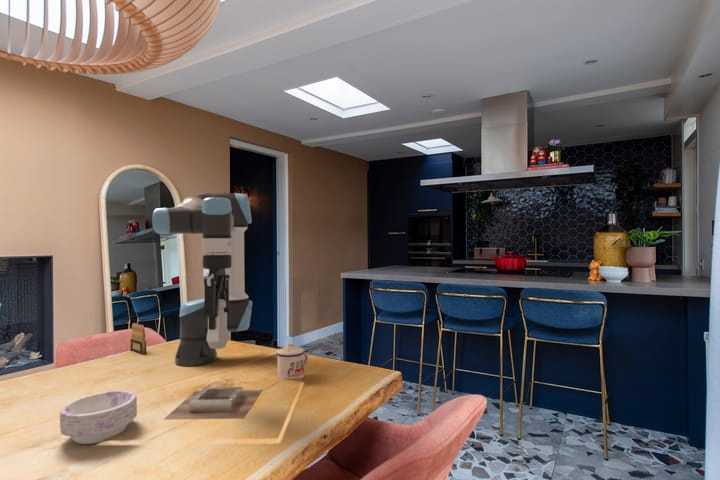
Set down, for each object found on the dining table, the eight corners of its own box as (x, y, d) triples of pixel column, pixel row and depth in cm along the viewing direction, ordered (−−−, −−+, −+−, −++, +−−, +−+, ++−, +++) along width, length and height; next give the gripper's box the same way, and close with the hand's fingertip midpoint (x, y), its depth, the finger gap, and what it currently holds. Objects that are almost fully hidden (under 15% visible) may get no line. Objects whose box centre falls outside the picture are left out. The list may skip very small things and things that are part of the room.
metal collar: (204, 396, 117) (204, 387, 117) (243, 395, 117) (243, 386, 117) (189, 411, 106) (189, 402, 106) (231, 411, 106) (231, 401, 106)
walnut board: (195, 394, 122) (195, 390, 122) (262, 393, 122) (262, 389, 122) (163, 423, 102) (163, 419, 102) (243, 422, 102) (243, 418, 102)
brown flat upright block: (130, 350, 174) (130, 322, 174) (134, 349, 176) (134, 321, 176) (141, 354, 168) (141, 325, 168) (146, 353, 169) (146, 324, 169)
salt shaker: (224, 349, 109) (224, 300, 109) (203, 349, 109) (203, 301, 109) (231, 344, 115) (231, 298, 115) (211, 344, 115) (211, 298, 115)
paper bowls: (42, 446, 90) (42, 410, 91) (102, 418, 105) (102, 387, 105) (97, 455, 86) (96, 417, 87) (151, 424, 101) (151, 392, 101)
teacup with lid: (289, 384, 129) (288, 347, 130) (271, 378, 135) (270, 343, 135) (316, 375, 139) (316, 340, 139) (298, 370, 144) (298, 337, 145)
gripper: (219, 254, 103) (219, 346, 103) (240, 253, 122) (241, 331, 122) (189, 255, 103) (189, 347, 103) (215, 253, 122) (215, 331, 122)
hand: (217, 338), depth 112 cm, fingers closed on salt shaker, 6 cm apart
